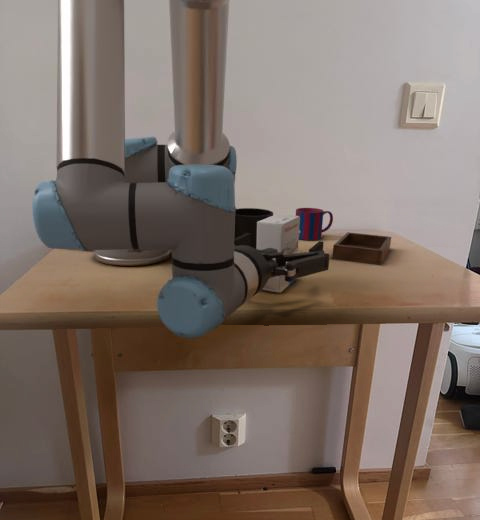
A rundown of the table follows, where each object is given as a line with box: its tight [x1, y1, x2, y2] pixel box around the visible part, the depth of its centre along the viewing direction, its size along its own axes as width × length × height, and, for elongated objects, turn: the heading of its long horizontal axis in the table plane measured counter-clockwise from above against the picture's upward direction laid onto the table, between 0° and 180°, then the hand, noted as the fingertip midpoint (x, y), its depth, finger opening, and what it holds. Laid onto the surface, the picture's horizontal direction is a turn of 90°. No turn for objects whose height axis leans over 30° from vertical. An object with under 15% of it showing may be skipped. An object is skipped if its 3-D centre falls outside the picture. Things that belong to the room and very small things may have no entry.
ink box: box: [257, 214, 300, 294], centre depth 84 cm, size 8×5×12 cm, turn 154°
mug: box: [234, 207, 274, 250], centre depth 104 cm, size 9×12×9 cm
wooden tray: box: [331, 231, 392, 266], centre depth 107 cm, size 10×14×3 cm
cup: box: [295, 207, 334, 241], centre depth 121 cm, size 7×10×7 cm
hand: (283, 244), depth 87 cm, fingers open, 13 cm apart
